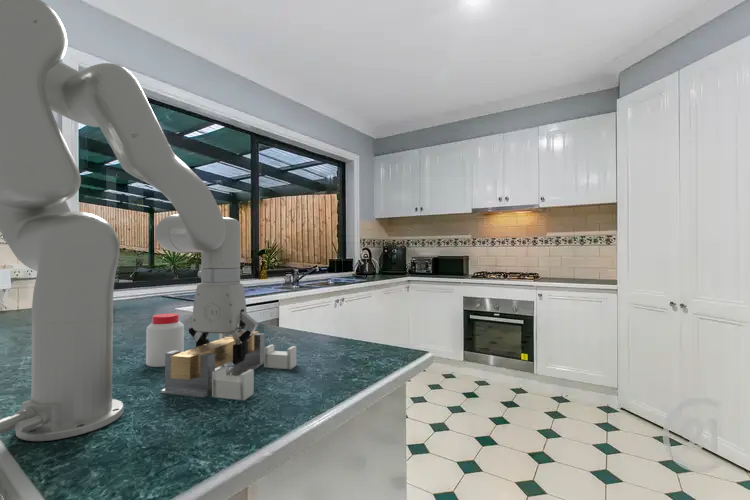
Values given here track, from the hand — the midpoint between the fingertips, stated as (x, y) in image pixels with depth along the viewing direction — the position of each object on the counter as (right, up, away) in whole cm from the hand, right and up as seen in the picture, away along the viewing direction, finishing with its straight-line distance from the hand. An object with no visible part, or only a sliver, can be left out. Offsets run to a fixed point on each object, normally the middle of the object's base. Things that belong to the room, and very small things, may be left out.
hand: (220, 360), depth 78 cm
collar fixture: (0, -3, 0) cm, 3 cm away
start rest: (+9, -3, -2) cm, 10 cm away
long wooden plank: (0, 0, 0) cm, 0 cm away
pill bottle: (-17, -3, +10) cm, 20 cm away
